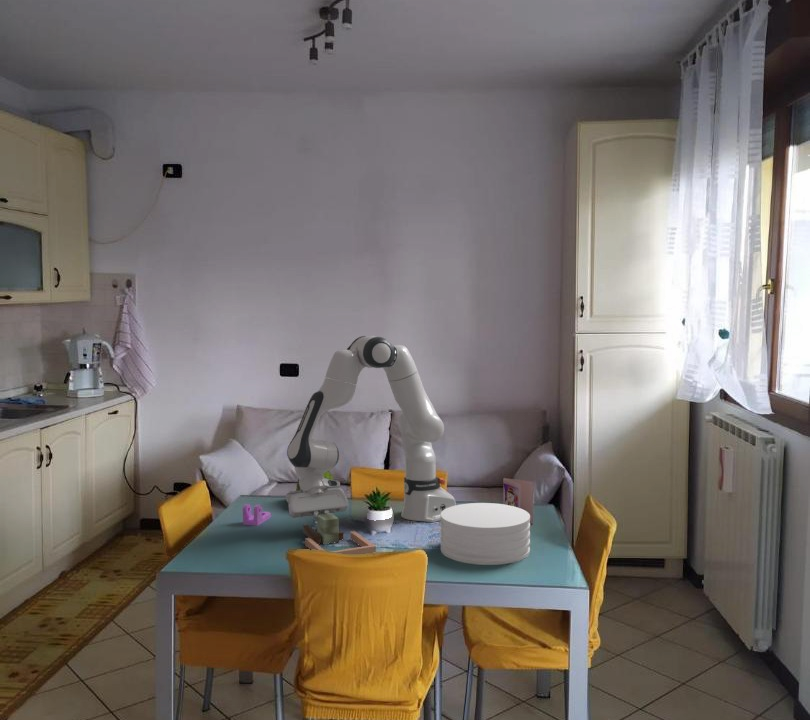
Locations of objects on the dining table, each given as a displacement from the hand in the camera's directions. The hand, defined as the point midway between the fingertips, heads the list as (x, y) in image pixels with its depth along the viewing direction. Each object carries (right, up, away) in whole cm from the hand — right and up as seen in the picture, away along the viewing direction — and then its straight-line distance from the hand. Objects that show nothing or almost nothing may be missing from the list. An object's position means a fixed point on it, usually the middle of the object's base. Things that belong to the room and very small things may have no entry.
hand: (323, 524), depth 263 cm
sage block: (+2, -5, -3) cm, 6 cm away
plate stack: (+52, -6, -13) cm, 54 cm away
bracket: (-26, -3, +21) cm, 33 cm away
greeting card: (+67, -3, +16) cm, 69 cm away
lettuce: (-8, -1, +40) cm, 41 cm away
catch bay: (+6, -5, -12) cm, 15 cm away
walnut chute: (0, -4, +1) cm, 4 cm away
